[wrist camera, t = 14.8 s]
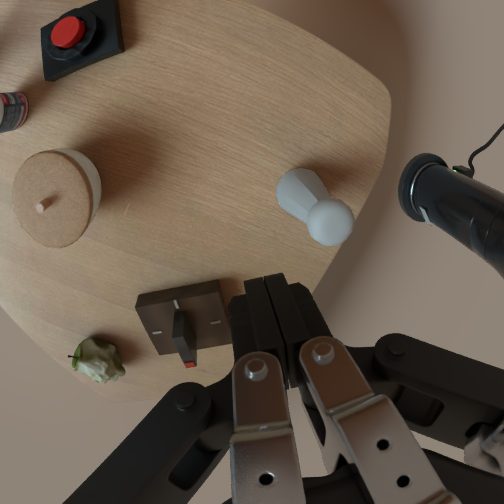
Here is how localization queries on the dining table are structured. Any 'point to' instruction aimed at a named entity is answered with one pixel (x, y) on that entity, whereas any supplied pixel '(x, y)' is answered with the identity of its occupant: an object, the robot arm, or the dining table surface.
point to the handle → (184, 339)
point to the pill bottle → (12, 111)
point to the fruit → (98, 360)
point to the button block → (84, 40)
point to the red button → (68, 32)
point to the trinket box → (56, 196)
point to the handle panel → (197, 311)
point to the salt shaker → (315, 206)
